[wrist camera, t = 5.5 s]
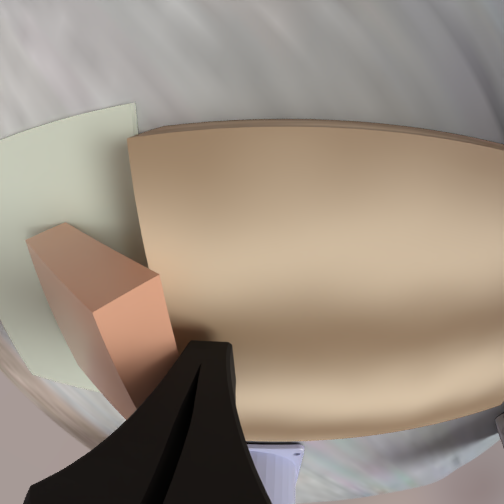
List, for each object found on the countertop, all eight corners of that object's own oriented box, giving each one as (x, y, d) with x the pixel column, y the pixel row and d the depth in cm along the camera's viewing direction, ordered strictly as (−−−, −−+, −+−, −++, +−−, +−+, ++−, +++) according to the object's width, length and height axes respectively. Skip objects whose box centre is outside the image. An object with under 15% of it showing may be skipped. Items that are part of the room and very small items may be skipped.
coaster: (200, 424, 11) (163, 455, 9) (107, 346, 15) (78, 365, 13) (159, 274, 7) (92, 312, 6) (65, 221, 11) (25, 239, 10)
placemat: (193, 401, 17) (192, 407, 17) (34, 371, 18) (32, 374, 17) (135, 102, 9) (130, 103, 9) (-49, 161, 10) (-53, 163, 10)
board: (484, 372, 15) (500, 404, 12) (208, 393, 16) (199, 437, 14) (559, 161, 9) (599, 181, 6) (163, 126, 10) (126, 138, 7)
